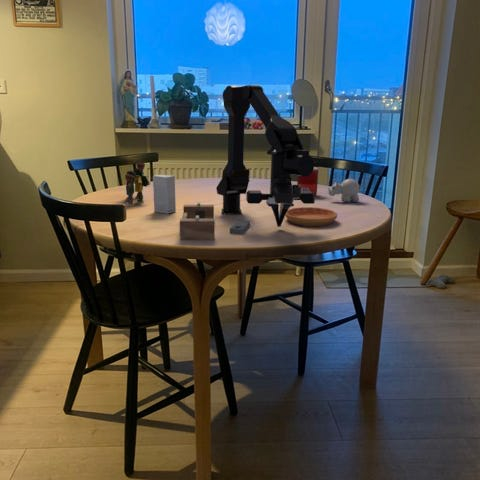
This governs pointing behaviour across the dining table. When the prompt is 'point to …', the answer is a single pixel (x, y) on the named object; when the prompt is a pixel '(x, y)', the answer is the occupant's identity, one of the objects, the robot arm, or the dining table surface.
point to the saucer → (311, 216)
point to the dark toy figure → (136, 184)
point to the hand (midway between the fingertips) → (278, 226)
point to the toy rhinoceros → (346, 190)
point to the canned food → (309, 181)
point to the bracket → (240, 227)
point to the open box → (197, 222)
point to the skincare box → (164, 194)
